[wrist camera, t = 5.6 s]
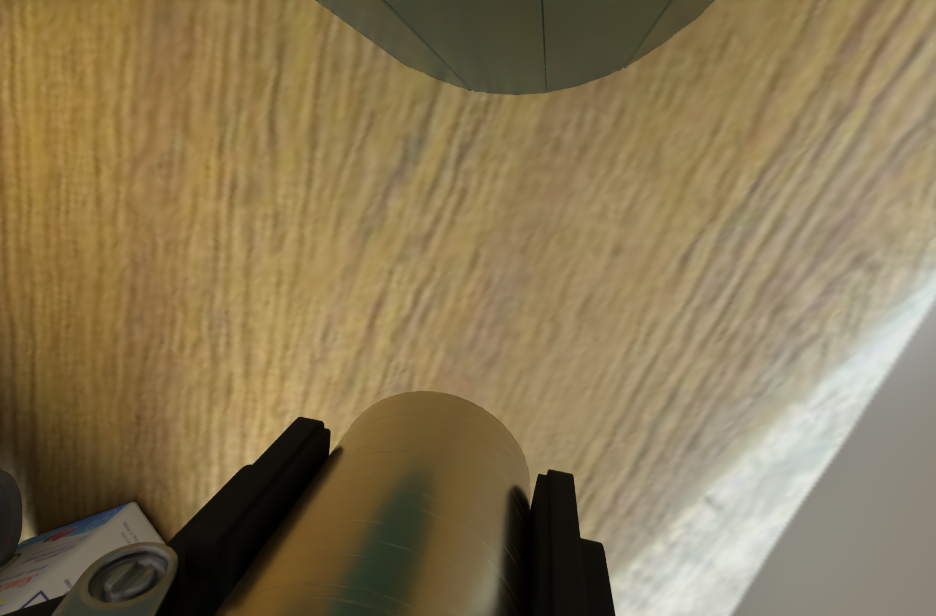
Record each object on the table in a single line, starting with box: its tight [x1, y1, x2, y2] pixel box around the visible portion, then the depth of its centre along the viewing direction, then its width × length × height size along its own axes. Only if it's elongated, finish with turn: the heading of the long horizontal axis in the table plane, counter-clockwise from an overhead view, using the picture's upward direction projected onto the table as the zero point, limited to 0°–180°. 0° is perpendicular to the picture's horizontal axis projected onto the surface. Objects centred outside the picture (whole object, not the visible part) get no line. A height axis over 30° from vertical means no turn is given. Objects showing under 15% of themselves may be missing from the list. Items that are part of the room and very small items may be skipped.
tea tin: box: [214, 391, 530, 616], centre depth 9 cm, size 5×5×7 cm
